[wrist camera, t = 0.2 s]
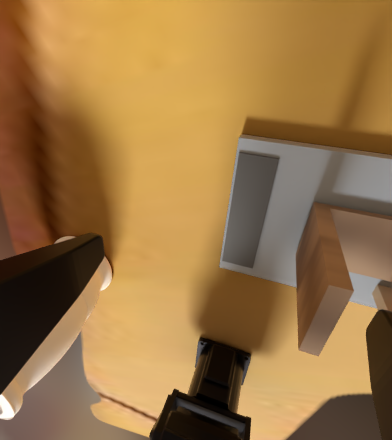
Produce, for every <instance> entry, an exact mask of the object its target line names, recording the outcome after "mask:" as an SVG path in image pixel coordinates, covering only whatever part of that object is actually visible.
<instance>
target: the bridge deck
mask: <svg viewBox="0 0 392 440" xmlns="http://www.w3.org/2000/svg"><path fill="white" fill-rule="evenodd" d="M314 202H317V203H322V204H328V205H333V206H338V207H344V208H349V209H354V210H360V211H365V212H370V213H376V214H381V215H386V216H392V155H388V154H381V153H374V152H367V151H359V150H352V149H345V148H338V147H331V146H323V145H316V144H309V143H302V142H295V141H287V140H280V139H273V138H266V137H258V136H251V135H244V134H241V135H240V137H239V140H238V147H237V153H236V160H235V166H234V173H233V179H232V186H231V193H230V199H229V206H228V212H227V219H226V225H225V232H224V239H223V245H222V252H221V258H220V265H219V267H220V268H224V269H228V270H232V271H236V272H239V273H243V274H247V275H251V276H255V277H259V278H262V279H266V280H270V281H274V282H278V283H281V284H285V285H289V286H293V287H297V285H296V252H297V249H298V246H299V243H300V240H301V237H302V234H303V232H304V229H305V226H306V223H307V220H308V217H309V214H310V211H311V208H312V205H313V203H314ZM349 276H350V279H351V282H352V286H353V289H354V292H353V294H352V296H351V298H350V300H349V301H350V302H354V303H358V304H362V305H366V306H369V307H373V308H377V309H378V311H379V310H380V309H384V310H388V311H392V282H390V281H385V280H381V279H377V278H373V277H368V276H364V275H360V274H356V273H352V272H349Z"/></svg>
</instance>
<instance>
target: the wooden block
mask: <svg viewBox="0 0 392 440" xmlns="http://www.w3.org/2000/svg"><path fill="white" fill-rule="evenodd" d="M349 272H352V273H356V274H360V275H364V276H368V277H373V278H377V279H381V280H385V281H390V282H392V216H386V215H381V214H376V213H370V212H365V211H360V210H354V209H349V208H344V207H338V206H333V205H328V204H322V203H317V202H314V203H313V205H312V208H311V211H310V214H309V217H308V220H307V223H306V226H305V229H304V232H303V234H302V237H301V240H300V243H299V246H298V249H297V252H296V285H297V317H298V348H299V350H300V351H303V352H306V353H310V354H313V355H316V356H319V354H320V353H321V351H322V349H323V347H324V345H325V343H326V342H327V340H328V338H329V336H330V334H331V333H332V331H333V329H334V327H335V325H336V323H337V322H338V320H339V318H340V316H341V314H342V312H343V311H344V309H345V307H346V305H347V303H348V302H349V300H350V298H351V296H352V294H353V292H354V289H353V286H352V282H351V279H350V276H349Z"/></svg>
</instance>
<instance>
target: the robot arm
mask: <svg viewBox="0 0 392 440" xmlns="http://www.w3.org/2000/svg"><path fill="white" fill-rule="evenodd" d="M104 255H105V252H104V244H103V238H102V236H101V235H98V234H94V233H88V234H85V235H81V236H78V237H75V238H72V239H68V240H65V241H62V242H59V243H55V244H52V245H49V246H46V247H42V248H39V249H36V250H32V251H29V252H26V253H23V254H19V255H16V256H13V257H10V258H6V259H3V260H0V395H1V394H2V393H3V391H4V390H5V389H6V388H7V386H8V385H9V384H10V383H11V381H12V380H13V379H14V378H15V376H16V375H17V374H18V373H19V371H20V370H21V369H22V368H23V366H24V365H25V364H26V363H27V361H28V360H29V359H30V358H31V356H32V355H33V354H34V353H35V351H36V350H37V349H38V348H39V346H40V345H41V344H42V342H43V341H44V340H45V339H46V337H47V336H48V335H49V334H50V332H51V331H52V330H53V329H54V327H55V326H56V325H57V324H58V322H59V321H60V320H61V319H62V317H63V316H64V315H65V314H66V312H67V311H68V310H69V309H70V307H71V306H72V305H73V304H74V302H75V301H76V300H77V298H78V297H79V296H80V294H81V293H82V292H83V290H84V289H85V287H86V286H87V284H88V282H89V281H90V279H91V278H92V276H93V275H94V273H95V272H96V270H97V269H98V267H99V265H100V264H101V262H102V261H103V259H104ZM366 341H367V351H368V362H369V372H370V382H371V389H372V395H373V400H374V405H375V409H376V414H377V419H378V423H379V428H380V433H381V437H382V440H392V311H388V310H384V309H380V310H379V311H378V312H377V313H376V314H375V316H374V318H373V319H372V321H371V322H370V324H369V325H368V327H367V330H366ZM250 360H251V355H250V354H249V353H246V352H243V351H240V350H237V349H234V348H231V347H228V346H225V345H222V344H219V343H216V342H213V341H210V340H207V339H204V338H200V339H199V341H198V348H197V356H196V365H195V368H196V369H195V372H194V375H193V378H192V382H191V385H190V388H189V391H188V394H185V393H182V392H179V390H177V389H174V390H173V393H172V394H171V395H168V397H167V400H166V403H165V405H164V408H163V410H162V412H161V414H160V416H159V418H158V419H157V421H156V423H155V425H154V426H153V428H152V430H151V432H150V436H149V437H150V440H250V427H251V418H250V417H247V416H246V417H245V416H242V415H239V414H237V409H238V403H239V396H240V390H241V385H243V382H244V379H245V376H246V373H247V369H248V366H249V363H250Z"/></svg>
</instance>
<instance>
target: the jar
mask: <svg viewBox="0 0 392 440" xmlns="http://www.w3.org/2000/svg"><path fill="white" fill-rule="evenodd" d="M72 238H75V236H65V237H62V238H60V239H58V240H57V241H56V242H55V243H59V242H62V241H65V240H68V239H72ZM55 243H54V244H55ZM111 280H112V269H111V266H110V264H109V262H108V260H107V258H106V257H105V256H104V259H103V261H102V262H101V264H100V265H99V267H98V269H97V270H96V272H95V273H94V275H93V276H92V278H91V279H90V281H89V282H88V284H87V286H86V287H85V289H84V290H83V292H82V293H81V294H80V296H79V297H78V298H77V300H76V301H75V302H74V304H73V305H72V306H71V307H70V309H69V310H68V311H67V312H66V314H65V315H64V316H63V317H62V319H61V320H60V321H59V322H58V324H57V325H56V326H55V327H54V329H53V330H52V331H51V332H50V334H49V335H48V336H47V337H46V339H45V340H44V341H43V342H42V344H41V345H40V346H39V348H38V349H37V350H36V351H35V353H34V354H33V355H32V356H31V358H30V359H29V360H28V361H27V363H26V364H25V365H24V366H23V368H22V369H21V370H20V371H19V373H18V374H17V375H16V376H15V378H14V379H13V380H12V381H11V383H10V384H9V385H8V386H7V388H6V389H5V390H4V391H3V393H2V394H1V395H0V419H5V420H9V419H12V418H13V417H14V415H15V414H16V413H17V412H18V411H19V409H20V408H21V406H22V402H23V397H22V396H23V394H24V393H25V392H26V391H27V390H28V389H30V388H31V387H32V386H33V385H35V384H36V383H37V382H38V381H39V380H40V379H42V378H43V377H44V376H45V375H46V374H47V373H48V372H49V371H50V370H51V369H52V368H53V367H54V365H55V364H56V363H57V362H58V361H59V360H60V359H61V358H62V356H63V355H64V354H65V353H66V352H67V350H68V349H69V348H70V346H71V345H72V343H73V342H74V341H75V339H76V338H77V336H78V334H79V333H80V331H81V329H82V327H83V325H84V323H85V321H86V320H87V319H88V317H89V316H90V314H91V313H92V311H93V309H94V307H95V305H96V303H97V300H98V297H99V294H100V291H102V290H104V289H105V288H107V287H108V286H109V284H110V283H111Z"/></svg>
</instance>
